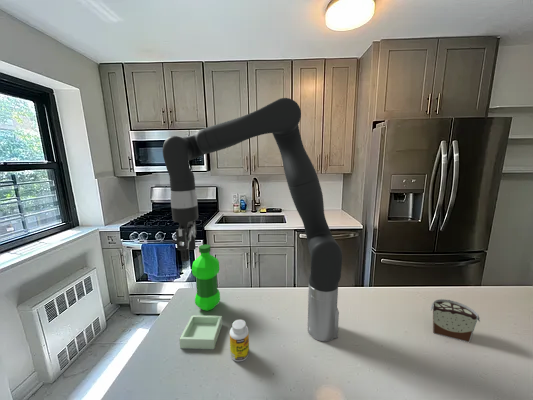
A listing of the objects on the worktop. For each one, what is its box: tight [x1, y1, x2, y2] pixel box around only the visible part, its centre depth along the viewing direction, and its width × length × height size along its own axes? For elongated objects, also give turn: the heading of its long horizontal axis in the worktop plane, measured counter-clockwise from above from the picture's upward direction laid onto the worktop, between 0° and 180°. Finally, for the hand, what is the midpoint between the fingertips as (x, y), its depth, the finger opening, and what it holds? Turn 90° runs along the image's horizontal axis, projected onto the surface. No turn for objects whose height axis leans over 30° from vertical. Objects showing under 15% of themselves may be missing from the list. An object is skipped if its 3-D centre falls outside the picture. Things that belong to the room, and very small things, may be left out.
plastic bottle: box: [191, 243, 221, 312], centre depth 88 cm, size 10×10×25 cm
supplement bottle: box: [229, 319, 250, 362], centre depth 67 cm, size 6×6×10 cm
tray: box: [179, 314, 223, 350], centre depth 75 cm, size 11×11×3 cm
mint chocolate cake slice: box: [430, 298, 481, 344], centre depth 75 cm, size 12×6×10 cm, turn 65°
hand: (189, 254), depth 72 cm, fingers open, 8 cm apart
